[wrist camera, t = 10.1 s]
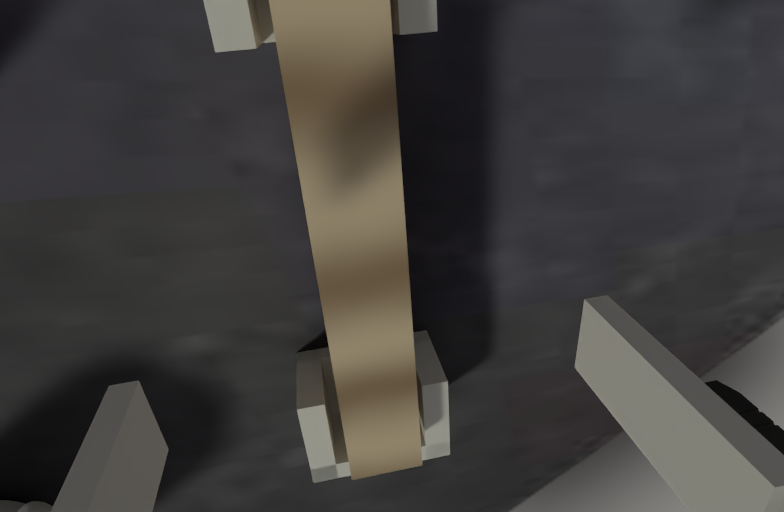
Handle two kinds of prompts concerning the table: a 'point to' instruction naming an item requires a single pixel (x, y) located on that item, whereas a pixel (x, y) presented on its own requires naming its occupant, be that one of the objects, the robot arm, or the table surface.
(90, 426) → the robot arm
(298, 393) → the endcap far
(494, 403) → the table surface
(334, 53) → the slat
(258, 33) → the endcap near
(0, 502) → the mug
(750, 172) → the table surface
